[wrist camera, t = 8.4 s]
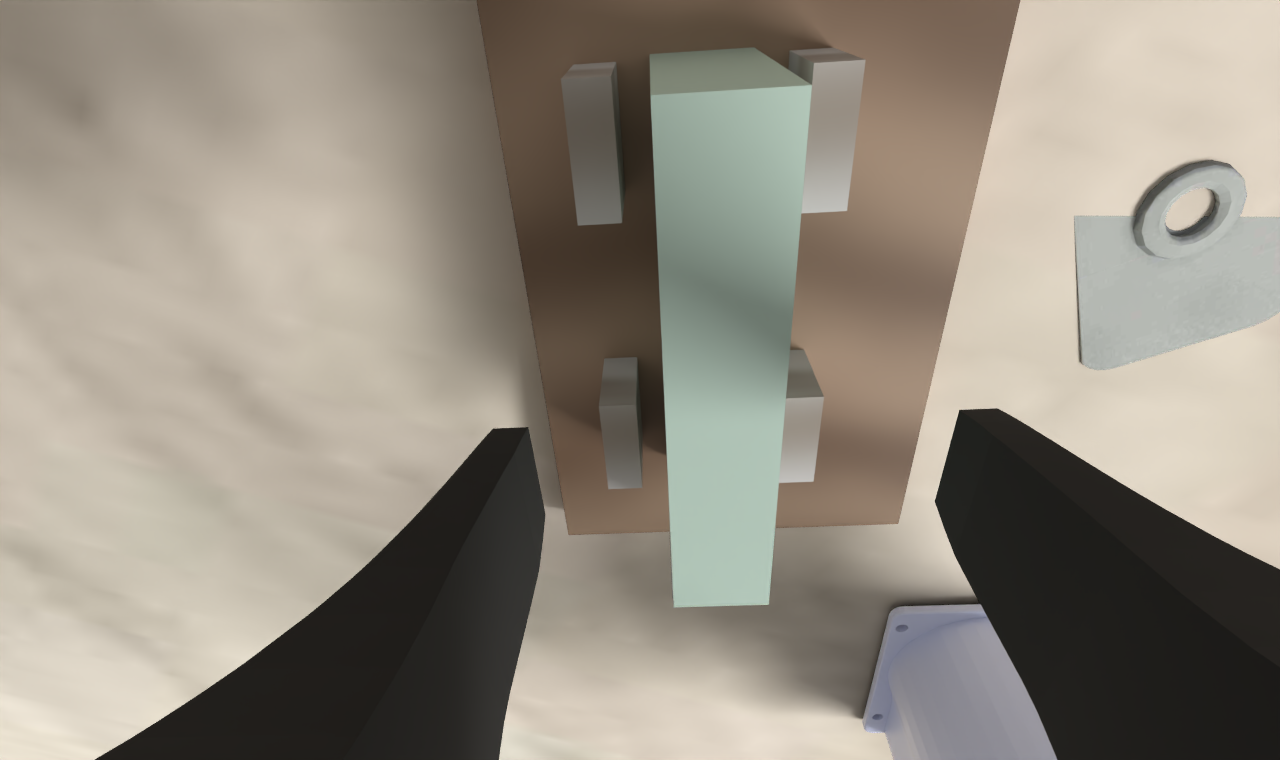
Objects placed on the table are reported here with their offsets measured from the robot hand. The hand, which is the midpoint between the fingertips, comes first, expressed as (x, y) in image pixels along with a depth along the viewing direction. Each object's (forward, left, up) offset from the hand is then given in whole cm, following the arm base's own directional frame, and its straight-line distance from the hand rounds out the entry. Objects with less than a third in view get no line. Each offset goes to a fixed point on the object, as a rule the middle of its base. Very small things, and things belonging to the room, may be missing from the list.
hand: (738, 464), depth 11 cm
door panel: (0, 0, -8) cm, 8 cm away
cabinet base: (0, 0, -9) cm, 9 cm away
